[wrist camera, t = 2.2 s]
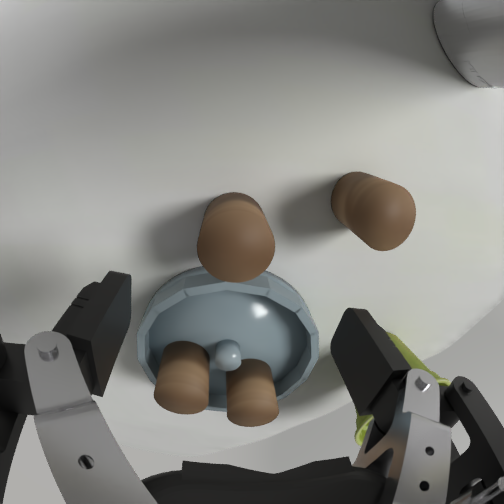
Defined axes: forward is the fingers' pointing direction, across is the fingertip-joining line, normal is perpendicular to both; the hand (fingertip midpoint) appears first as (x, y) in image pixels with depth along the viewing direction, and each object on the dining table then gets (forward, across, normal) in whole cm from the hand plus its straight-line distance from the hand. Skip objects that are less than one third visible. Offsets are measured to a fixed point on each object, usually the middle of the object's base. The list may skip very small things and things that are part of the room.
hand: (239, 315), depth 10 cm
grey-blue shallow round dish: (+10, -2, +10) cm, 14 cm away
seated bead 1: (+9, +2, +11) cm, 14 cm away
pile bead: (+10, -8, -4) cm, 13 cm away
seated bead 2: (+9, -4, +12) cm, 16 cm away
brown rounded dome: (+10, 0, 0) cm, 10 cm away
